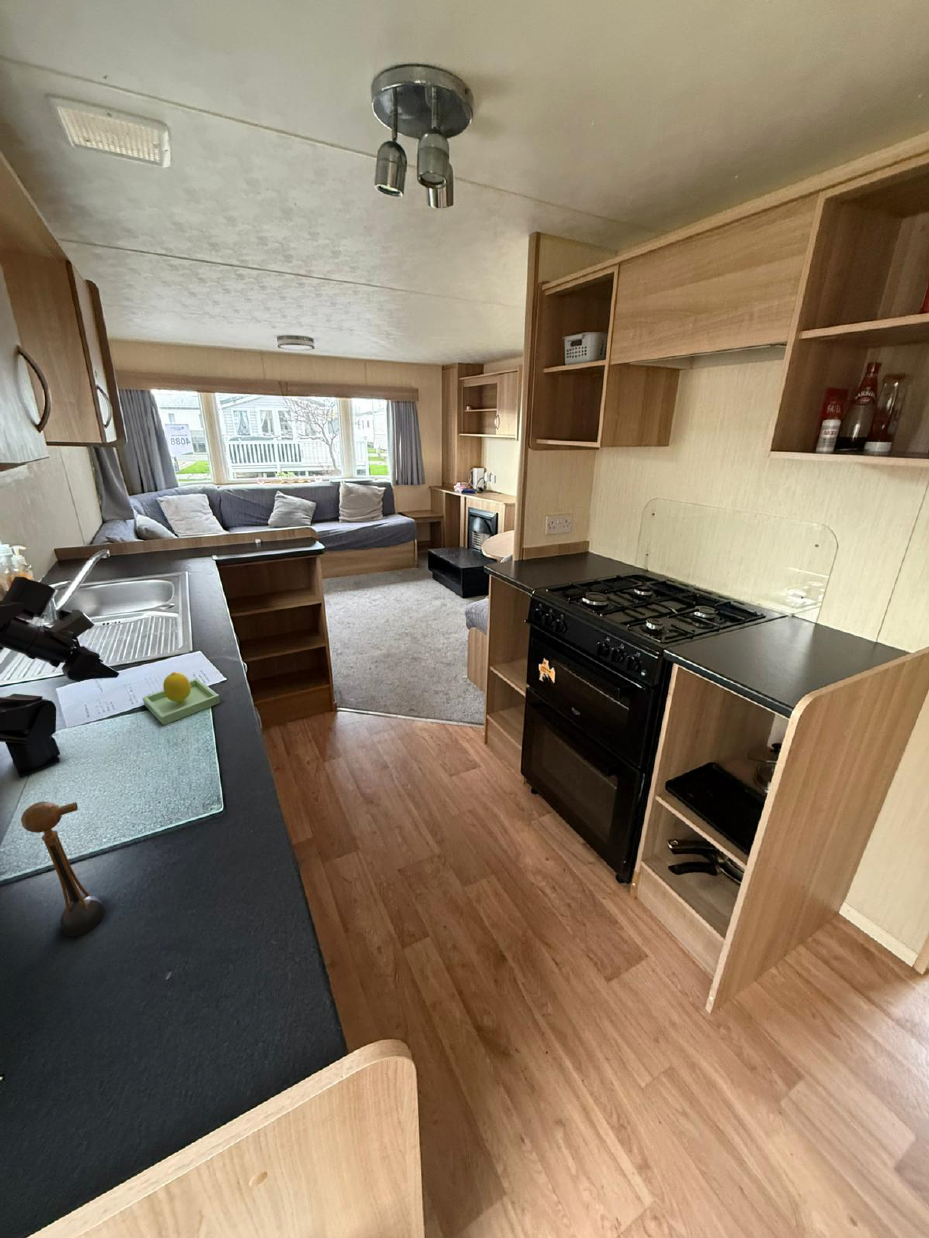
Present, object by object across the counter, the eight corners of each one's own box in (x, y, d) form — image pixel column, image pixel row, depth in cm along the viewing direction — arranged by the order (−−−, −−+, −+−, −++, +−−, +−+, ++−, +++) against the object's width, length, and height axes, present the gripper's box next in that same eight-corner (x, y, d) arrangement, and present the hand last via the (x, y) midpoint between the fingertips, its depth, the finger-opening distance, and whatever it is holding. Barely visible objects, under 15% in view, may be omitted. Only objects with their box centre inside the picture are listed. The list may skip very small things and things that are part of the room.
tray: (163, 725, 112) (161, 717, 111) (144, 705, 120) (142, 697, 119) (220, 702, 120) (218, 695, 120) (199, 685, 128) (197, 678, 127)
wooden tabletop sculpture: (114, 894, 72) (73, 783, 65) (114, 919, 68) (70, 804, 61) (64, 914, 69) (14, 800, 62) (60, 942, 66) (7, 824, 58)
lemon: (189, 693, 123) (182, 664, 120) (196, 702, 119) (189, 672, 116) (164, 701, 120) (157, 672, 117) (171, 711, 116) (163, 680, 113)
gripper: (71, 613, 92) (150, 647, 104) (41, 593, 103) (115, 626, 115) (32, 667, 89) (117, 695, 102) (5, 640, 100) (85, 669, 112)
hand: (109, 668), depth 108 cm, fingers open, 9 cm apart
